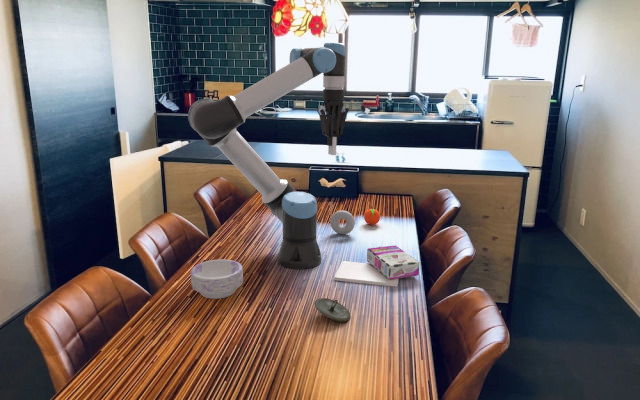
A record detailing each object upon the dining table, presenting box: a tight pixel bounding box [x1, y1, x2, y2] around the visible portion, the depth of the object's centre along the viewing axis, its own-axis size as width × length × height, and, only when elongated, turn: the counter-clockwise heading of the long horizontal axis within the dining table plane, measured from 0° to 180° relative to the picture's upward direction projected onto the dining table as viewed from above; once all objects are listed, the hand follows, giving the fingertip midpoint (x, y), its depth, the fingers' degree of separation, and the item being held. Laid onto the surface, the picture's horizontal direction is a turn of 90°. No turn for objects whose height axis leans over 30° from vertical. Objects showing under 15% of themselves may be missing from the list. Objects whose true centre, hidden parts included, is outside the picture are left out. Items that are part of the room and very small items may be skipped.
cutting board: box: [333, 260, 400, 288], centre depth 166 cm, size 14×20×1 cm
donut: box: [329, 210, 356, 235], centre depth 203 cm, size 10×3×10 cm, turn 76°
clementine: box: [363, 208, 381, 226], centre depth 215 cm, size 8×7×7 cm
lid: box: [313, 297, 351, 323], centre depth 138 cm, size 11×10×5 cm
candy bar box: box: [366, 245, 421, 280], centre depth 168 cm, size 11×5×16 cm
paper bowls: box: [190, 258, 244, 300], centre depth 151 cm, size 15×15×8 cm
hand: (332, 154), depth 185 cm, fingers closed
